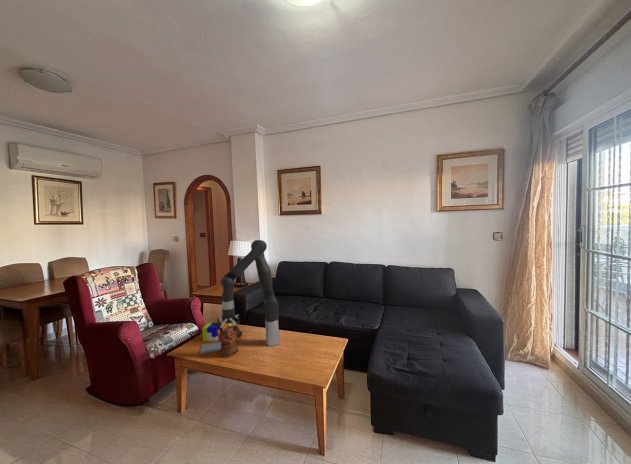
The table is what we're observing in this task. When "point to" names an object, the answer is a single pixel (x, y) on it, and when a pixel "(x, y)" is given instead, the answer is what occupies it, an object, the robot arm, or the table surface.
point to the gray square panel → (210, 348)
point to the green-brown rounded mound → (237, 329)
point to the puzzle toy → (211, 332)
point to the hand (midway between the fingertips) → (228, 331)
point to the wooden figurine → (229, 342)
